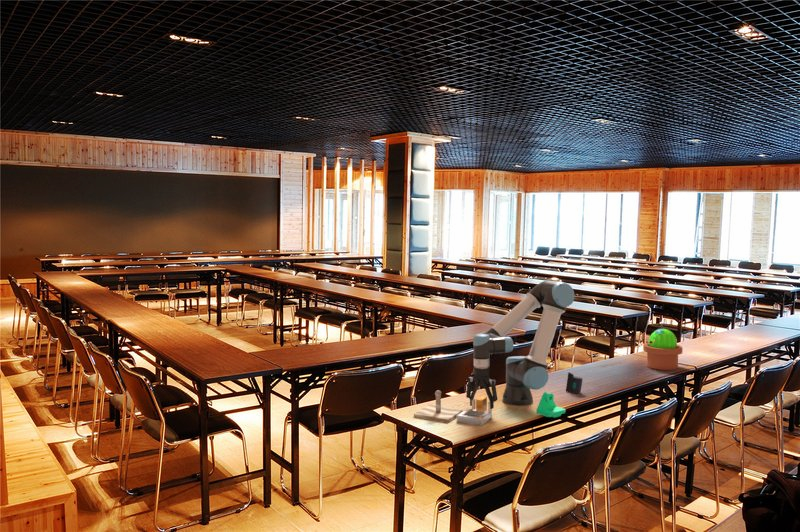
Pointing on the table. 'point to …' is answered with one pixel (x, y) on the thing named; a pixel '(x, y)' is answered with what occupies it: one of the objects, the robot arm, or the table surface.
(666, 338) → the potted cactus
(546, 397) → the camera mount
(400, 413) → the table surface
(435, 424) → the table surface
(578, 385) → the speaker
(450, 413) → the board
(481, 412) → the square frame with handle
